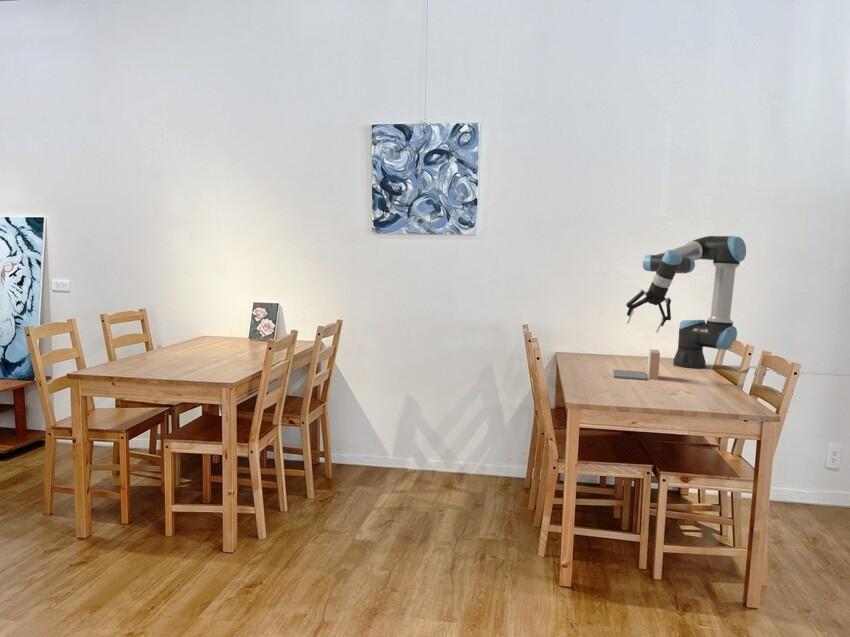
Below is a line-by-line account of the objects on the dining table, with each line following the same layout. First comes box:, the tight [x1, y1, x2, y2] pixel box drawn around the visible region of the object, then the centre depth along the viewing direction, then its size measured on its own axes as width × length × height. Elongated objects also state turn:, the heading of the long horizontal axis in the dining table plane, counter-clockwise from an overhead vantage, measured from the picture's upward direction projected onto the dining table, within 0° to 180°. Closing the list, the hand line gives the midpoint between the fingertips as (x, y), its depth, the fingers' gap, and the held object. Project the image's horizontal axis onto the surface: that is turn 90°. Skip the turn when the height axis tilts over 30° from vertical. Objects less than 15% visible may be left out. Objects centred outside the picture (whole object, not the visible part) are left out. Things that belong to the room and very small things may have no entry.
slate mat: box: [613, 369, 648, 381], centre depth 300 cm, size 14×16×1 cm
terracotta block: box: [646, 348, 661, 381], centre depth 297 cm, size 4×9×12 cm, turn 165°
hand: (641, 327), depth 299 cm, fingers open, 13 cm apart
